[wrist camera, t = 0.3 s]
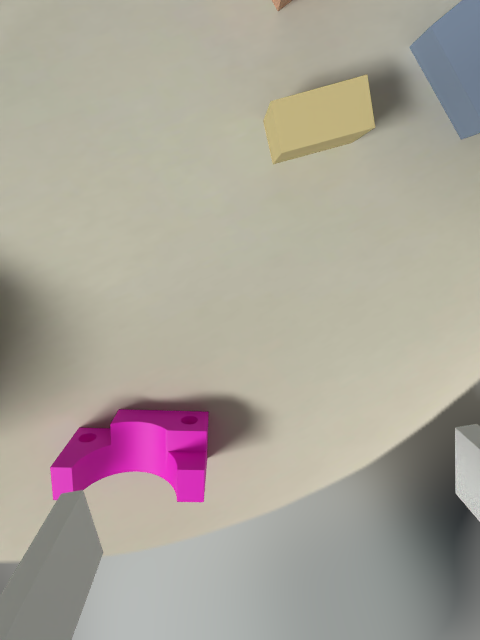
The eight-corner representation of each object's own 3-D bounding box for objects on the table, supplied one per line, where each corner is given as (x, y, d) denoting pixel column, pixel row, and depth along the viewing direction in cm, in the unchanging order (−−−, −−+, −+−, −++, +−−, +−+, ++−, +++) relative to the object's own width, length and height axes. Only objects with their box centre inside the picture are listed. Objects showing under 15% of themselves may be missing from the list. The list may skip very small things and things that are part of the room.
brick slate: (407, 48, 35) (430, 26, 31) (463, 2, 34) (493, -26, 30) (459, 140, 37) (486, 130, 33) (512, 99, 36) (546, 84, 32)
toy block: (208, 410, 43) (205, 448, 36) (207, 457, 45) (203, 502, 38) (78, 407, 43) (48, 444, 35) (81, 454, 44) (53, 499, 37)
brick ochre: (272, 164, 37) (281, 153, 31) (263, 121, 36) (270, 101, 30) (351, 143, 36) (375, 127, 31) (344, 99, 35) (367, 74, 30)
